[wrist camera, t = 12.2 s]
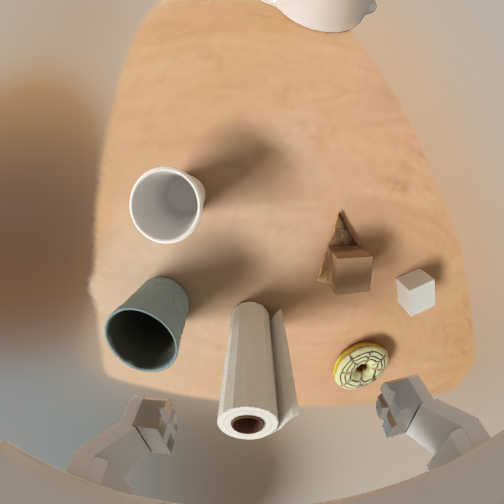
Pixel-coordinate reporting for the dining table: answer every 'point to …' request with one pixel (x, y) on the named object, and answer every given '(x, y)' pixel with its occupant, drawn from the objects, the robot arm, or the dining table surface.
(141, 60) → the dining table surface
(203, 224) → the dining table surface
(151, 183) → the dixie cup
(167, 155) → the dining table surface
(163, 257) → the dining table surface
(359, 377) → the decorated donut
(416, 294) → the grey cube
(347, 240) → the shard
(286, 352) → the paper towel roll
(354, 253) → the walnut cube
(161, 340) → the teal plant pot
